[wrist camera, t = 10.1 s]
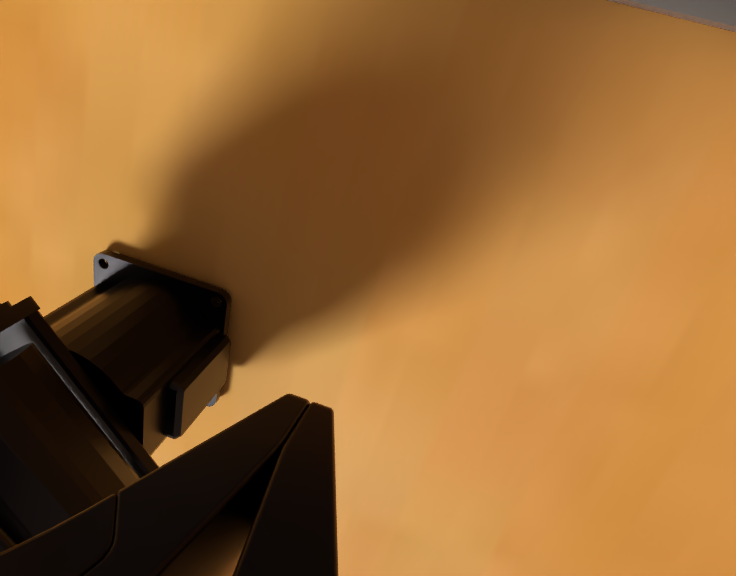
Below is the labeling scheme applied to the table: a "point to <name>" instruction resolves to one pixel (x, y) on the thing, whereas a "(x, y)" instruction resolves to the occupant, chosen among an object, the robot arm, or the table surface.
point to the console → (692, 10)
